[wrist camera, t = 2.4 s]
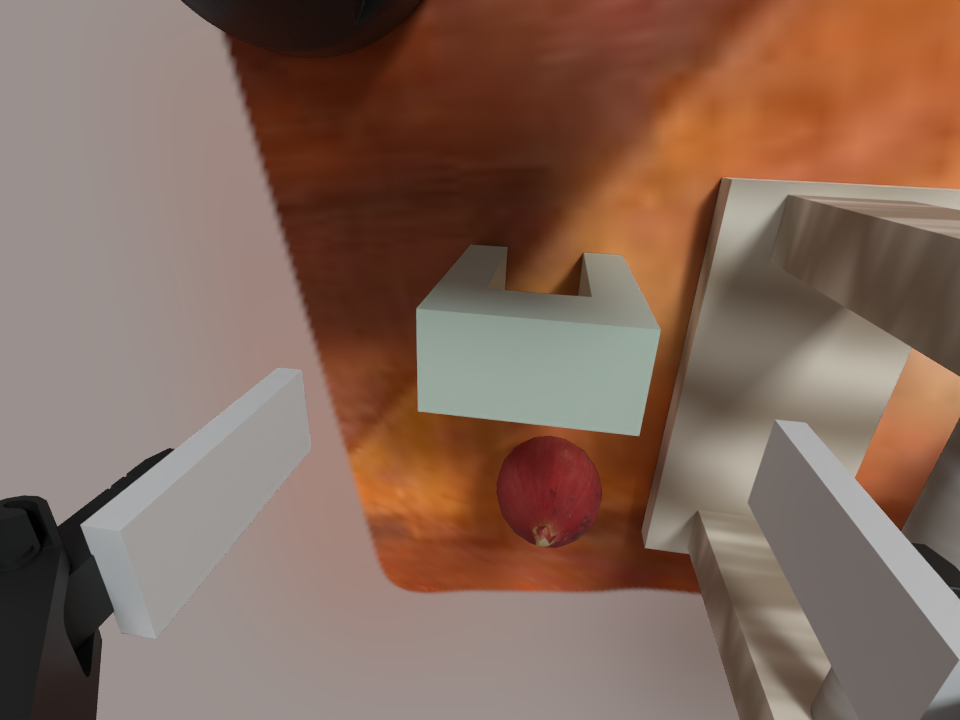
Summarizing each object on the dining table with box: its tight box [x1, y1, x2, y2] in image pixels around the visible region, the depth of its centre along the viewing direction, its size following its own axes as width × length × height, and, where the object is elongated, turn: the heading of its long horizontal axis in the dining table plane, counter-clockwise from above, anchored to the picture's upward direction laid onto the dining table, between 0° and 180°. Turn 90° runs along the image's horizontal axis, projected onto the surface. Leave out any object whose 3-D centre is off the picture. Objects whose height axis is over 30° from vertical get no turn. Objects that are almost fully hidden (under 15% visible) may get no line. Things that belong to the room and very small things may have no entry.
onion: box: [497, 436, 602, 548], centre depth 28 cm, size 6×6×8 cm
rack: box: [641, 177, 960, 720], centre depth 20 cm, size 22×10×16 cm, turn 178°
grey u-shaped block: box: [416, 245, 661, 436], centre depth 22 cm, size 4×8×11 cm, turn 88°
